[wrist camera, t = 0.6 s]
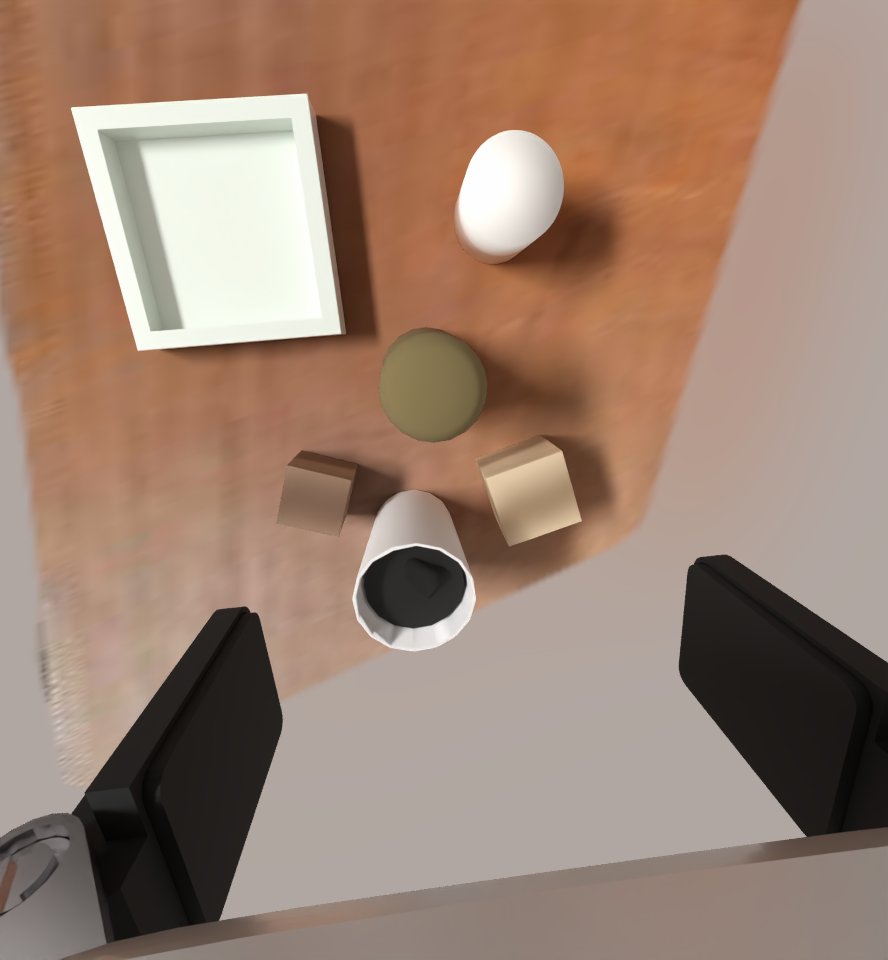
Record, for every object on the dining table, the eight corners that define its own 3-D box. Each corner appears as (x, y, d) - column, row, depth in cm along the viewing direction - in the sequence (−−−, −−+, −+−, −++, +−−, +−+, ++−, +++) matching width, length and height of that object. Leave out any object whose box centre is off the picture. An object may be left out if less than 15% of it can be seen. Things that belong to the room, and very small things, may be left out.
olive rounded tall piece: (482, 344, 30) (521, 346, 20) (454, 429, 32) (476, 473, 21) (396, 314, 29) (388, 300, 19) (371, 403, 31) (351, 436, 20)
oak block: (474, 458, 33) (485, 478, 28) (539, 434, 32) (562, 450, 28) (495, 518, 34) (509, 546, 29) (557, 495, 34) (581, 521, 29)
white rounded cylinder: (450, 176, 27) (460, 133, 21) (531, 171, 27) (563, 127, 22) (456, 267, 29) (467, 249, 23) (533, 261, 29) (563, 241, 23)
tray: (100, 128, 25) (70, 107, 23) (315, 114, 26) (306, 93, 24) (158, 349, 29) (137, 350, 27) (346, 334, 29) (341, 333, 27)
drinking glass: (390, 469, 32) (381, 524, 23) (472, 504, 34) (497, 570, 24) (355, 547, 34) (333, 627, 24) (434, 577, 35) (444, 666, 26)
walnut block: (301, 450, 32) (287, 465, 28) (358, 463, 32) (351, 480, 28) (292, 502, 33) (276, 523, 29) (346, 514, 33) (338, 536, 29)
